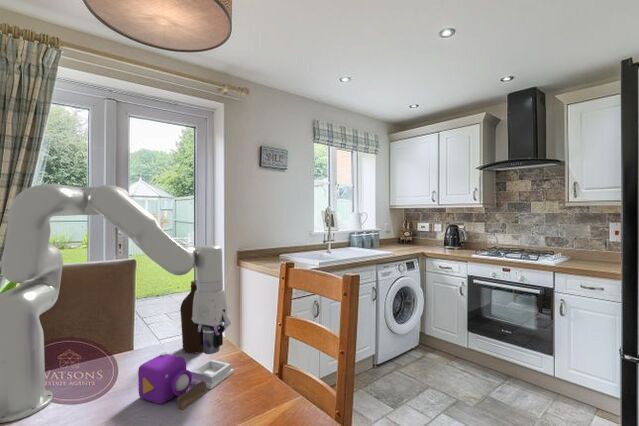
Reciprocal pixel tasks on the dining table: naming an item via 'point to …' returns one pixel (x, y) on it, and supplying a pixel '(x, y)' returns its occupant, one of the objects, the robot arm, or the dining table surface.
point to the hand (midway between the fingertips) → (211, 344)
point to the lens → (209, 340)
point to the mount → (211, 373)
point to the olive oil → (190, 324)
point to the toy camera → (163, 378)
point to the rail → (191, 395)
